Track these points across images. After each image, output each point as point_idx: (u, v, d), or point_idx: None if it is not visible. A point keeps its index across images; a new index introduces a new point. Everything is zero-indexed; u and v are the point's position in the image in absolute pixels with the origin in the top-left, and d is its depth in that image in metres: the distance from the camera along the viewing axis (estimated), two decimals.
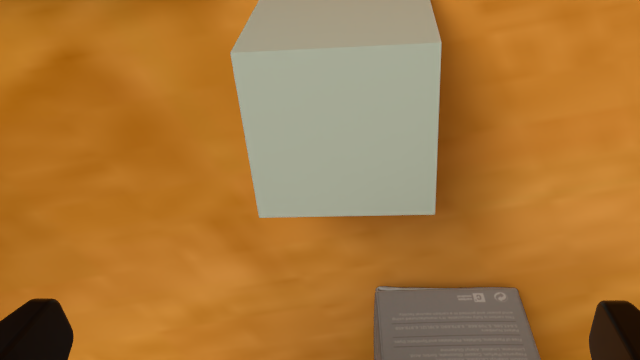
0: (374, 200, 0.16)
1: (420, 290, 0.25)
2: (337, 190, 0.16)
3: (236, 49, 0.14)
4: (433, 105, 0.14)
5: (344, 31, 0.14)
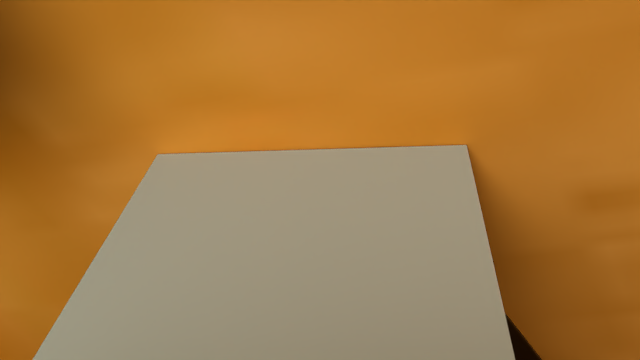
0: None
1: None
2: None
3: None
4: None
5: None
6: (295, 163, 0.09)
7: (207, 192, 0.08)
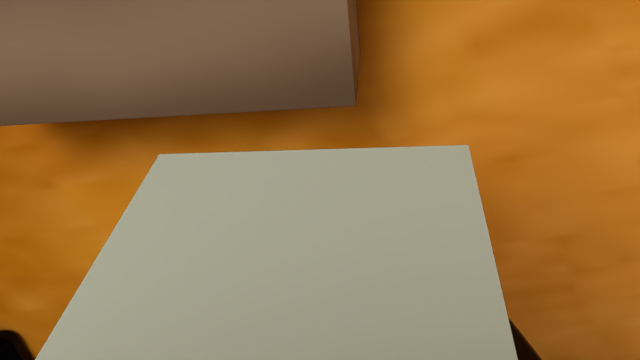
0: None
1: None
2: None
3: None
4: None
5: None
6: (297, 163, 0.09)
7: (209, 192, 0.08)
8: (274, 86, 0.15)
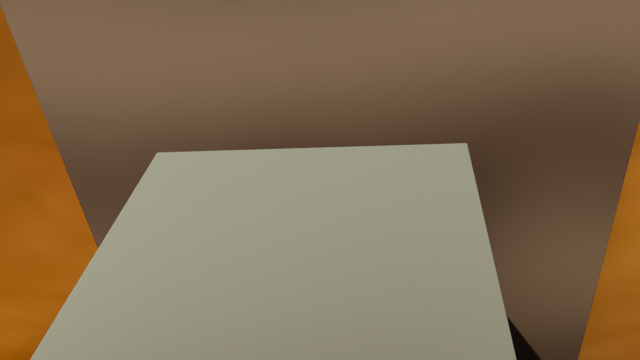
0: None
1: None
2: None
3: None
4: None
5: None
6: (295, 161, 0.09)
7: (206, 190, 0.08)
8: None
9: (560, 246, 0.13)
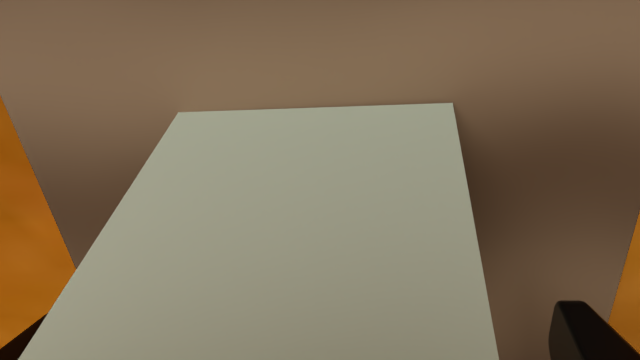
0: None
1: None
2: None
3: None
4: None
5: (276, 317, 0.06)
6: (301, 118, 0.10)
7: (223, 141, 0.10)
8: None
9: (570, 278, 0.12)
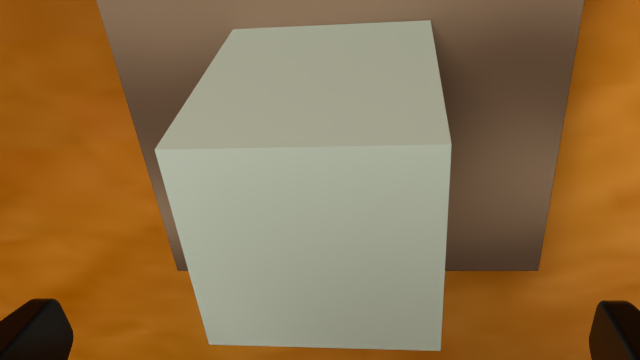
0: (359, 331, 0.12)
1: None
2: (309, 319, 0.12)
3: (163, 144, 0.10)
4: (439, 223, 0.10)
5: (316, 117, 0.10)
6: (323, 31, 0.14)
7: (269, 43, 0.14)
8: (471, 254, 0.18)
9: (520, 159, 0.16)
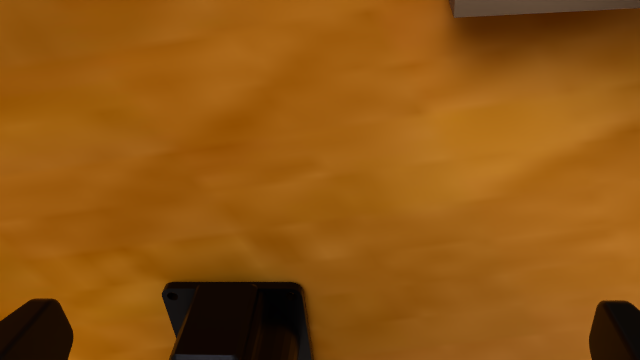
0: None
1: None
2: None
3: None
4: None
5: None
6: None
7: None
8: None
9: None
